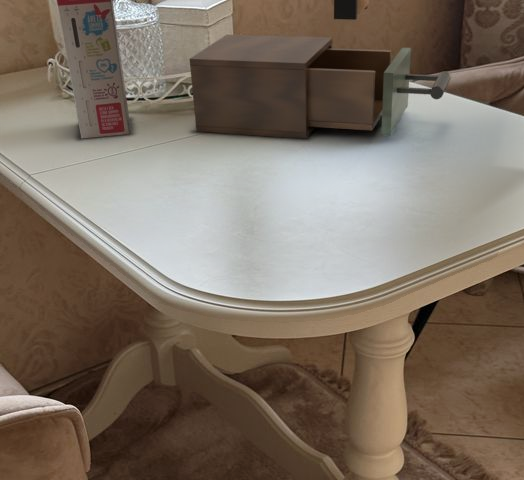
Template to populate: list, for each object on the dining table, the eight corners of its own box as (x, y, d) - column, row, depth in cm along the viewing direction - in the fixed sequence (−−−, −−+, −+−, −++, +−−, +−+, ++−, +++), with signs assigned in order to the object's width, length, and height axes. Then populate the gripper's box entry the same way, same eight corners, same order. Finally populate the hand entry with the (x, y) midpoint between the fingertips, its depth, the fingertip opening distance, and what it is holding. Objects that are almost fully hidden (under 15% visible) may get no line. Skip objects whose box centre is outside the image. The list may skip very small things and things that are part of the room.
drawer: (450, 108, 108) (455, 49, 104) (436, 138, 98) (441, 75, 94) (307, 100, 114) (306, 44, 110) (281, 129, 104) (279, 68, 100)
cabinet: (332, 107, 114) (332, 37, 108) (306, 138, 103) (305, 63, 98) (231, 101, 118) (226, 34, 113) (196, 131, 108) (189, 58, 102)
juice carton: (129, 118, 114) (105, -51, 101) (130, 133, 108) (104, -44, 96) (82, 123, 113) (53, -48, 101) (81, 138, 108) (49, -40, 95)
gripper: (341, -212, 94) (339, -2, 107) (298, -214, 80) (301, 29, 93) (404, -216, 92) (394, -1, 105) (371, -218, 78) (364, 31, 91)
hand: (351, 13), depth 99 cm, fingers closed on egg, 5 cm apart
